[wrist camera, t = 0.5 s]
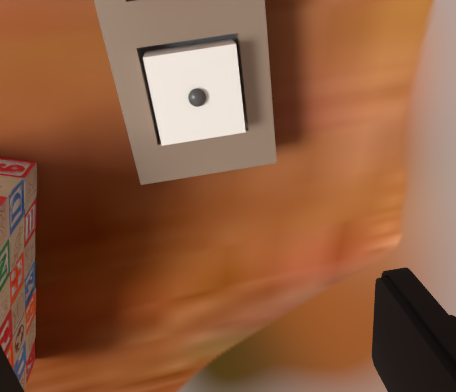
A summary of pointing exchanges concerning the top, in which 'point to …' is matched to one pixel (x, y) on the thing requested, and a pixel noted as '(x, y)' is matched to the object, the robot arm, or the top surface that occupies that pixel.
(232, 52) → the tile one
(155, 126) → the tile panel
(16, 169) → the stack of blocks
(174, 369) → the top surface
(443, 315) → the robot arm
